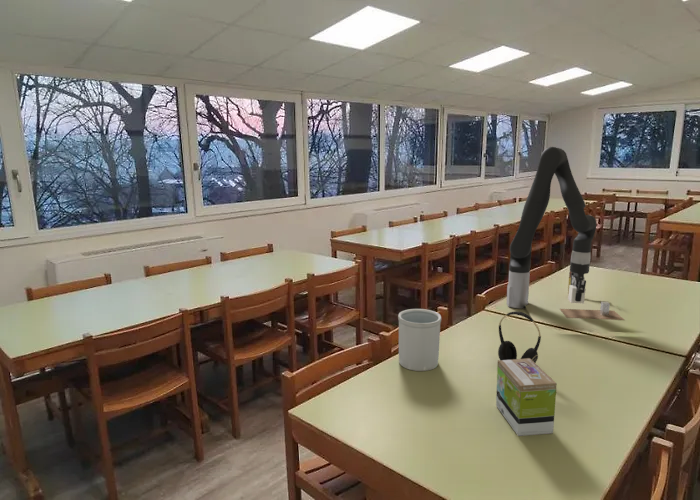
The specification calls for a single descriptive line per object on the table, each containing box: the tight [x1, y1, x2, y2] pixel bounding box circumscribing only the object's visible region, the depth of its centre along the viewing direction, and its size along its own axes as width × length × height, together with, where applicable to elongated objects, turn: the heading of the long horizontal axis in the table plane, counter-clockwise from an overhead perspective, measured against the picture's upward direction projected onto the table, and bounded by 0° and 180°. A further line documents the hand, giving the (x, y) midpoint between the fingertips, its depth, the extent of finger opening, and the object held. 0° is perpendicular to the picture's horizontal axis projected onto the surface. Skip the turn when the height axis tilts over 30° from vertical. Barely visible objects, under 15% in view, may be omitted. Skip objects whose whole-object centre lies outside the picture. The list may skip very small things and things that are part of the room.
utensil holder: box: [397, 308, 442, 372], centre depth 160 cm, size 15×15×18 cm
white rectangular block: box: [567, 285, 587, 305], centre depth 201 cm, size 5×5×7 cm
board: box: [559, 308, 625, 321], centre depth 202 cm, size 23×12×2 cm, turn 80°
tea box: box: [495, 358, 557, 437], centre depth 125 cm, size 15×10×15 cm, turn 5°
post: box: [599, 301, 610, 316], centre depth 201 cm, size 3×3×6 cm
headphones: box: [497, 310, 542, 364], centre depth 154 cm, size 9×15×20 cm, turn 43°
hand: (576, 298), depth 202 cm, fingers closed on white rectangular block, 5 cm apart
